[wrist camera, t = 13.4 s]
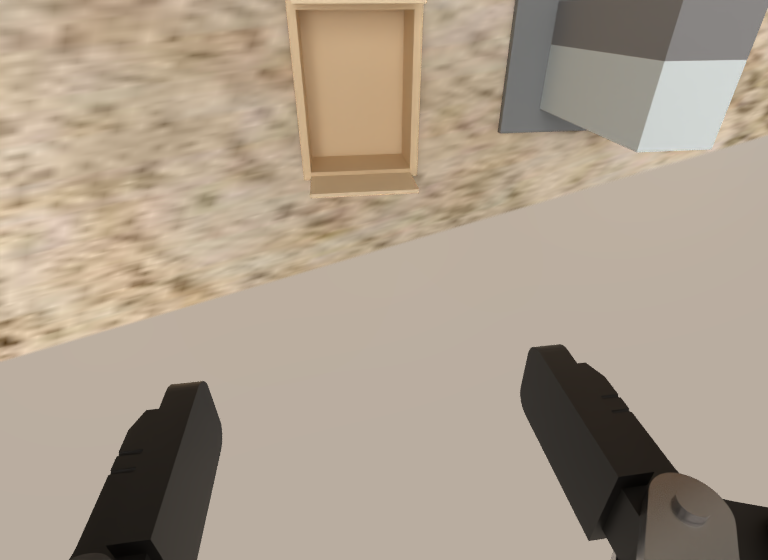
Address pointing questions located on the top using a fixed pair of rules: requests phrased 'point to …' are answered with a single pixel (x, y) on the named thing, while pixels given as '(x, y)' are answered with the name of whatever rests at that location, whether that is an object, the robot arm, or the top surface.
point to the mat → (530, 70)
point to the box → (649, 68)
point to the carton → (357, 93)
